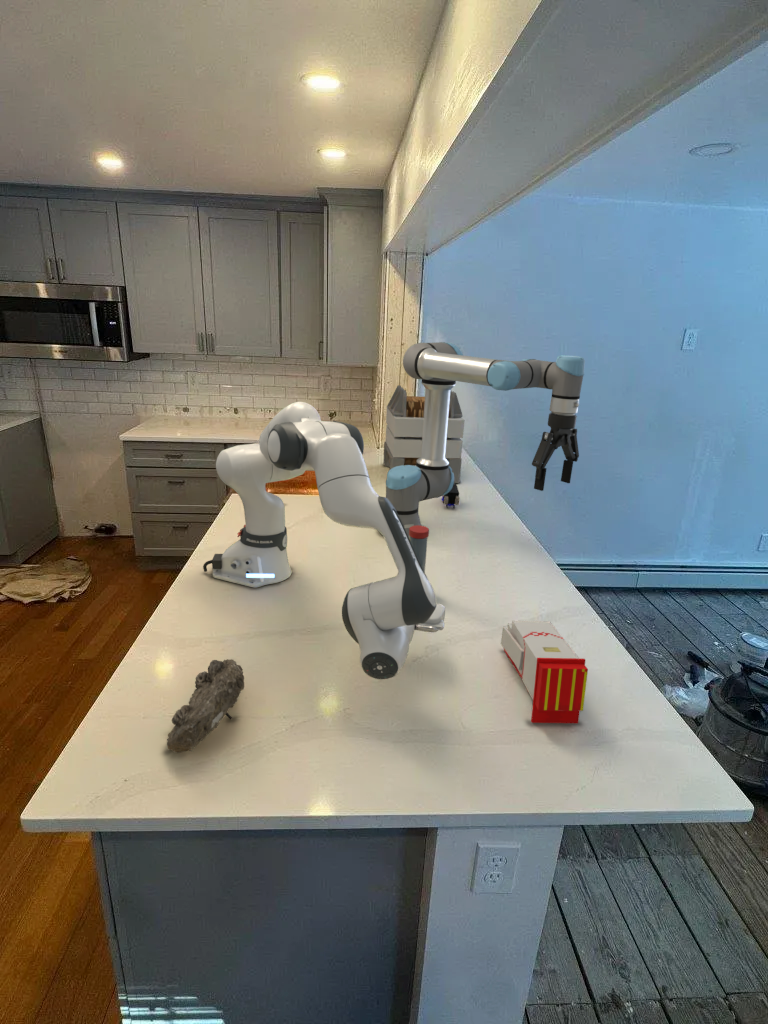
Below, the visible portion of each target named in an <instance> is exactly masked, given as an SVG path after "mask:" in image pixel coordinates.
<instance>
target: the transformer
mask: <svg viewBox="0 0 768 1024" xmlns="http://www.w3.org/2000/svg"><path fill="white" fill-rule="evenodd" d="M407 394H408V393H407V390H406V389H404V388H403V387H402V385H399V384H398V385H397V386H396V388H395V390H394V392H393V394H392V395H391V398H390V400H389V402H388V404H387V405H386V413H385V414H386V415H385V423H386V428H385V438H384V442H383V466H384V467H388V468H389V470H390V469H392V468H394V467H396V466H401V465H404V466H405V465H413V466H416V461H417V459H418V458H420V457H421V449H422V434H423V419H424V404H425V396H415V395H414V396H413V395H412V396H411V395H407ZM464 429H465V419H464V418H463V411H462V408H461V405H460V402H459V398H458V395H457V392H455V391H453V390H451V392H450V404H449V416H448V428H447V441H446V453H445V458H446V459H447V461H448V462H449V466H450V467H451V469H452V473H454V483H455V484H459V483H461V472H462V461H463V460H462V453H463V442H464V441H463V440H462V439H463V438H464V431H465V430H464Z"/></svg>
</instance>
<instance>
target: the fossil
mask: <svg viewBox="0 0 768 1024" xmlns="http://www.w3.org/2000/svg"><path fill="white" fill-rule="evenodd" d="M243 670H244V669H243V667H242V665H240V664H237V662H236V661H235V660H234V659H232V658H231V659H227V658H226V659H224V660H223V661H222V660H217V659H212V660H211V661H210V663H209V665H208V666H207V671H201V672H199V673H198V674H197V675H196V676H195V680H194V684H195V685H194V687H195V689H194V690H193V693H192V694H191V697H190V698H189V700H188V704H184V705H182V706H181V707H180V709H177V710H176V711H175V713H174V715H173V716H172V718H171V723H172V724H173V727H172V730H171V731H170V732H168V734H167V738H166V741H167V742H166V745H167V749H168V750H169V751H173V752H174V753H176V754H178V753H182V752H188V751H189V752H192V751H193V750H195V748H196V747H197V746H199V744H200V743H201V742H203V741H204V740H205V739H206V738H207V737H208V736H209V735H210V734H211V733H212V732H214V730H215V729H217V727H218V726H219V724H220V722H221V721H222V720H223V719H224V718H225V716H226V717H227V719H229V720H233V717H232V715H230V714H229V710H230V709H231V708H234V706H235V704H236V703H237V702H238V699H239V697H240V695H241V693H242V691H243V690H245V689H244V688H245V675H244V671H243Z"/></svg>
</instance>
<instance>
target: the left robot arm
mask: <svg viewBox="0 0 768 1024" xmlns="http://www.w3.org/2000/svg"><path fill="white" fill-rule="evenodd" d="M364 443H365V442H364V438H363V435H362V433H361V431H360V429H359V428H358V427H357V426H355V425H353V424H350V423H347V422H343V421H337V420H332V421H327V420H322V419H321V415H320V413H319V411H318V410H317V409H316V407H314V406H313V405H312V404H310V403H308V402H305V401H295V402H292V403H290V404H288V405H286V406H285V407H283V408H282V409H281V410H280V411H279V412H277V413H276V415H274V417H273V418H271V420H270V421H269V423H268V424H267V425H266V426H265V428H263V430H262V431H261V433H260V435H259V439H258V442H256V443H255V442H254V443H246V444H237V445H235V446H230V447H227V448H226V449H222V450H221V451H220V453H219V454H218V455H217V457H216V461H215V470H216V474H217V476H218V478H219V480H221V482H222V483H223V484H225V485H226V486H228V487H230V488H231V489H232V490H233V491H234V492H235V493H236V494H237V495H238V496H239V498H240V500H241V503H242V506H243V512H244V523H245V524H244V525H243V527H242V528H240V530H239V531H238V533H237V538H240V539H238V540H237V541H235V542H234V543H233V544H231V545H229V546H228V547H227V548H226V549H225V550H224V551H223V552H222V553H214V554H213V557H212V559H210V560H207V561H205V562H204V564H203V565H202V569H203V572H204V573H208V567H207V566H209V565H210V564H211V569H212V578H215V579H218V580H222V581H225V582H226V581H227V582H230V583H234V584H238V585H242V586H246V587H250V588H255V589H256V588H260V587H263V586H266V585H272V584H277V583H280V582H283V581H285V580H287V579H288V578H290V577H291V575H292V573H293V572H292V568H291V565H290V562H289V557H288V550H287V547H288V530H287V529H288V528H287V527H286V505H285V503H284V500H283V499H282V498H280V496H278V495H277V494H274V493H272V492H270V491H269V492H268V491H267V488H266V485H267V484H269V483H275V482H281V481H282V482H283V481H289V480H292V479H295V478H297V477H300V476H302V475H304V474H305V472H306V471H308V472H309V471H310V472H311V471H312V472H314V475H315V481H316V487H317V492H318V497H319V501H320V505H321V508H322V510H323V512H324V514H325V516H326V517H328V518H329V519H330V520H331V521H332V522H334V523H336V524H339V525H341V526H346V527H351V528H361V529H370V530H375V531H378V533H379V534H380V533H381V534H382V535H381V534H380V535H381V536H382V537H383V538H384V541H385V543H386V545H387V548H388V550H389V553H390V555H391V557H392V559H393V560H392V561H393V562H394V564H395V566H396V569H397V574H396V575H395V576H392V577H388V578H384V579H381V580H377V581H374V582H373V581H372V582H368V583H365V584H361V585H357V586H355V587H351V588H350V589H348V591H347V593H346V595H345V596H344V598H343V603H342V607H341V619H342V622H343V625H344V627H345V630H346V631H347V633H348V634H349V636H350V637H351V638H352V639H353V641H355V643H356V644H357V645H358V646H359V663H360V666H361V669H362V671H363V673H365V674H366V676H368V677H370V678H373V679H376V680H389V679H392V678H394V677H396V676H397V675H398V674H399V673H400V672H401V671H402V669H403V667H404V665H405V664H406V661H407V658H408V655H409V652H410V651H409V650H410V647H411V642H412V640H413V637H414V634H415V631H416V632H417V631H419V632H426V633H427V632H428V633H436V632H438V631H443V629H444V628H445V619H446V618H445V617H446V606H444V604H442V603H437V597H436V593H435V590H434V587H433V585H432V583H431V581H429V578H428V576H427V575H426V571H425V572H424V571H423V569H422V567H421V565H420V562H419V560H418V558H417V556H416V553H415V551H414V549H413V546H412V544H411V542H410V540H409V537H408V535H407V533H406V530H405V528H404V526H403V524H402V522H401V520H400V518H399V516H398V513H397V512H396V510H395V508H394V506H393V505H392V503H391V502H390V501H389V500H388V499H387V498H386V496H380V495H379V494H378V493H377V491H376V490H375V488H374V486H373V484H372V482H371V479H370V475H369V470H368V467H367V464H366V461H365V458H364V451H365V450H364V448H365V447H364V446H365V444H364Z"/></svg>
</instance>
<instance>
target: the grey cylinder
mask: <svg viewBox="0 0 768 1024" xmlns="http://www.w3.org/2000/svg"><path fill="white" fill-rule="evenodd" d="M428 538H429V536H428V537H427V538H423V539H417V538H413V537H411V536H410V542H411V544H412V546H413V549H414V551H415V553H416V556H417V558H418V560H419V562H420V565H421V567H422V569H423V571H424V572H425V573H426V565H427V564H426V563H427V552H428V551H427V550H428V548H427V547H428Z"/></svg>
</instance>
